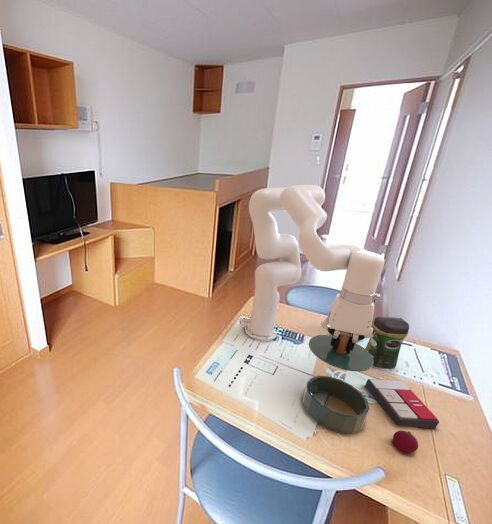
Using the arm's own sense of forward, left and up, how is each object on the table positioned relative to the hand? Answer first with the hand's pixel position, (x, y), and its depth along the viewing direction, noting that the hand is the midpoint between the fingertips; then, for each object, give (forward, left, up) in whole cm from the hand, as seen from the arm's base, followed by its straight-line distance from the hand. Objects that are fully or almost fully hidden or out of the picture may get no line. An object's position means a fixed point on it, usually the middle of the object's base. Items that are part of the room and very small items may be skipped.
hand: (340, 349), depth 91 cm
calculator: (+19, +4, -18) cm, 26 cm away
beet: (+17, -13, -17) cm, 27 cm away
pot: (+1, -8, -17) cm, 19 cm away
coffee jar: (+18, +25, -18) cm, 36 cm away
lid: (0, 0, -1) cm, 1 cm away
